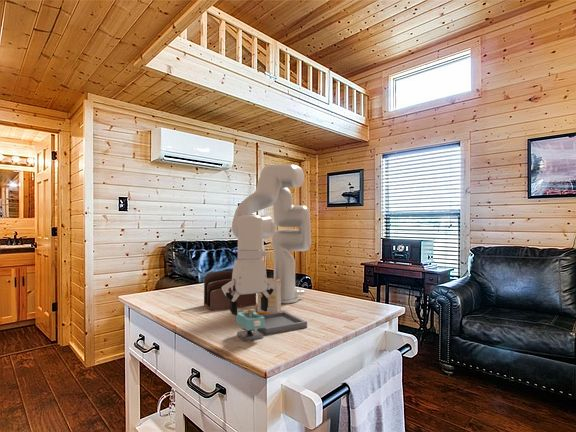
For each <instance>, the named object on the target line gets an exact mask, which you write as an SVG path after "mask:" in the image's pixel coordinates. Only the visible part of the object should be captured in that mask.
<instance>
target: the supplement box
mask: <svg viewBox="0 0 576 432" xmlns="http://www.w3.org/2000/svg"><path fill="white" fill-rule="evenodd" d="M267 279H269V280H271V281H273V282H275V283H276V285H275V288H274V289H273V292H272V294H271V295H270V297H269V298H268V308H267V311H266V312H265V311H263V310H261V297H262V294H261V293H256V296H257V313H258V314H260V315H264V314H271V313H277V312H282V303H281V279H277V278H274V277H273V278H272V277H267ZM269 286H270V285H269V284H268V283H267V289H268V288H269ZM267 289H266V291H267Z"/></svg>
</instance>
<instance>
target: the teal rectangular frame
mask: <svg viewBox="0 0 576 432" xmlns="http://www.w3.org/2000/svg"><path fill="white" fill-rule="evenodd" d="M261 315H262V314H259V313H258V312H253V318H251V319H250V318H248V317H247V313H246V314H244V313H243V311H239V312H237V315H235V323H236V324H237V325H239V326H240V327H241V328H242V327H243V328H244V329H246V330H253V329H257V330H258V329H259V328H265V317H263V316H261Z"/></svg>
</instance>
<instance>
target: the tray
mask: <svg viewBox="0 0 576 432" xmlns="http://www.w3.org/2000/svg"><path fill="white" fill-rule="evenodd" d="M260 315H261V316H263V317H265V328H259V329H257V331H259V332H260V333H262V334H263V335H266V336H267V335H272V334H278V333H283V332H290V331H294V330H295V331H296V330H300V329H304V328H308V321H306V320H305V319H302V318H300V317H297V316H296V315H294V314H291V313H289V312H288V311H281V312H277V313H271V314H260Z"/></svg>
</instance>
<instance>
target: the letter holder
mask: <svg viewBox="0 0 576 432" xmlns="http://www.w3.org/2000/svg"><path fill="white" fill-rule="evenodd" d="M232 274H233V270H222V271H221V270H220V271H214V272H211V273H206V274H205V275H204V278H203V305H204V307H205V308H207V309H208V310H209V311H217V310H218V311H219V310H226V309H230V300H229V299H228V298H227V297H226V296H225V294H224V292H223V290H222V286H224V285H225V284H227V283H229V282H230V281H232ZM228 291H229V293H230V294H232V293H233V291H232V287H230V288H229V289H228ZM236 301H237V303H238V307H237V308H243V307H250V306H256V305H257V293H254V294H243V295H239V297H238V298H237V299H236Z"/></svg>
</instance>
